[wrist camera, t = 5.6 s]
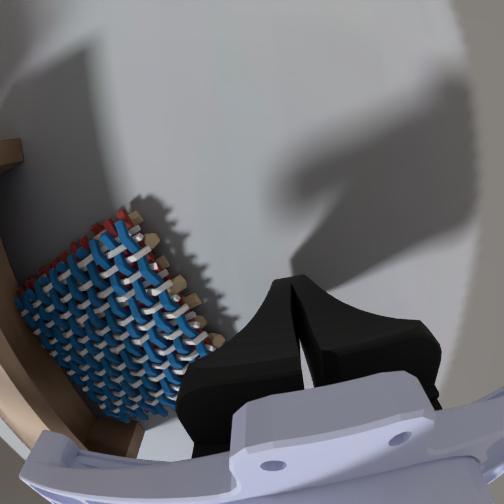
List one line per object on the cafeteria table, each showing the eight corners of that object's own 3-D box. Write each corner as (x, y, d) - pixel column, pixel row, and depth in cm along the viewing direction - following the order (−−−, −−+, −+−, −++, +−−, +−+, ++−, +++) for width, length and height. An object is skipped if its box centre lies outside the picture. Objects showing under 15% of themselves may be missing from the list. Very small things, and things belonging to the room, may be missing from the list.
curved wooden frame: (144, 431, 17) (123, 499, 12) (92, 425, 18) (66, 483, 12) (20, 138, 10) (-72, 154, 5) (-27, 171, 11) (-100, 196, 5)
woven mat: (142, 192, 12) (123, 202, 10) (255, 369, 15) (255, 396, 13) (21, 282, 14) (2, 298, 12) (120, 406, 17) (111, 427, 15)
